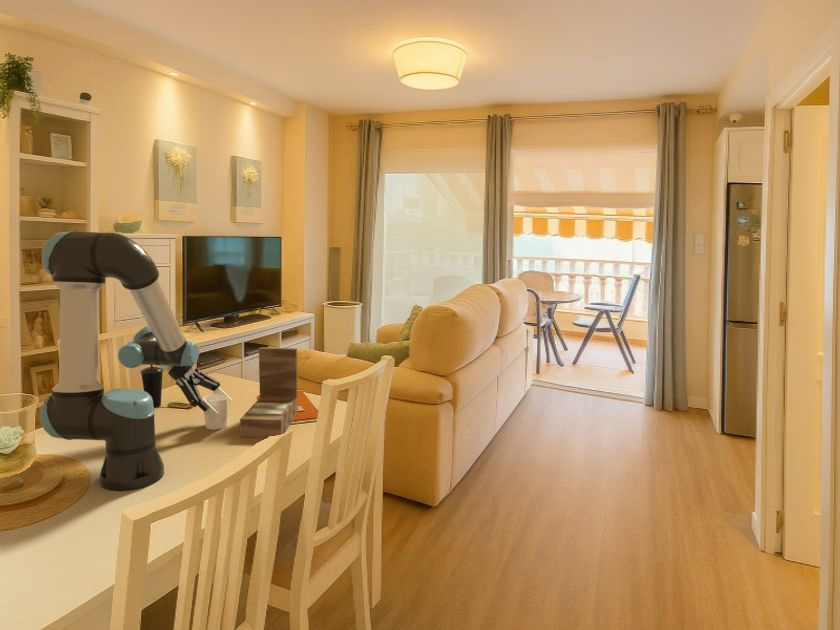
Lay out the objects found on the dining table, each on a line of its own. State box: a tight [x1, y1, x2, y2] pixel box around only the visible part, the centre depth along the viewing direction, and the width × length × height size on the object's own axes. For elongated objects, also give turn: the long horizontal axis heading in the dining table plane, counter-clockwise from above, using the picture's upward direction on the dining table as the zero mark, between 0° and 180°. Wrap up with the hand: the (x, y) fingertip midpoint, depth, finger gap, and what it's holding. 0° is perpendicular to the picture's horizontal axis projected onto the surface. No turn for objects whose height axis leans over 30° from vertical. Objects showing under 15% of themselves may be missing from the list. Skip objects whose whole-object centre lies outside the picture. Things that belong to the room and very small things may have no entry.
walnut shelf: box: [239, 347, 299, 439], centre depth 187 cm, size 24×13×24 cm, turn 0°
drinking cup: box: [139, 365, 164, 409], centre depth 203 cm, size 8×8×20 cm
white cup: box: [202, 393, 229, 431], centre depth 185 cm, size 8×8×10 cm
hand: (222, 409), depth 186 cm, fingers open, 13 cm apart
